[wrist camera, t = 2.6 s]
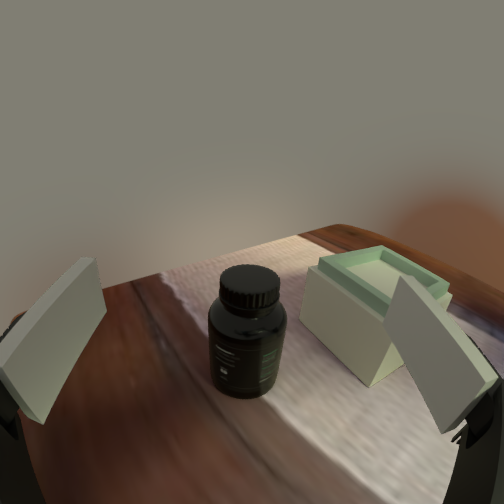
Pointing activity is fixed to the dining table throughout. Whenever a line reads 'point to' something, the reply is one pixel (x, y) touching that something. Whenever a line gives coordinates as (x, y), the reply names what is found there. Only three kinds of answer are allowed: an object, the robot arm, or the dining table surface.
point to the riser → (361, 306)
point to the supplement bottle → (246, 331)
